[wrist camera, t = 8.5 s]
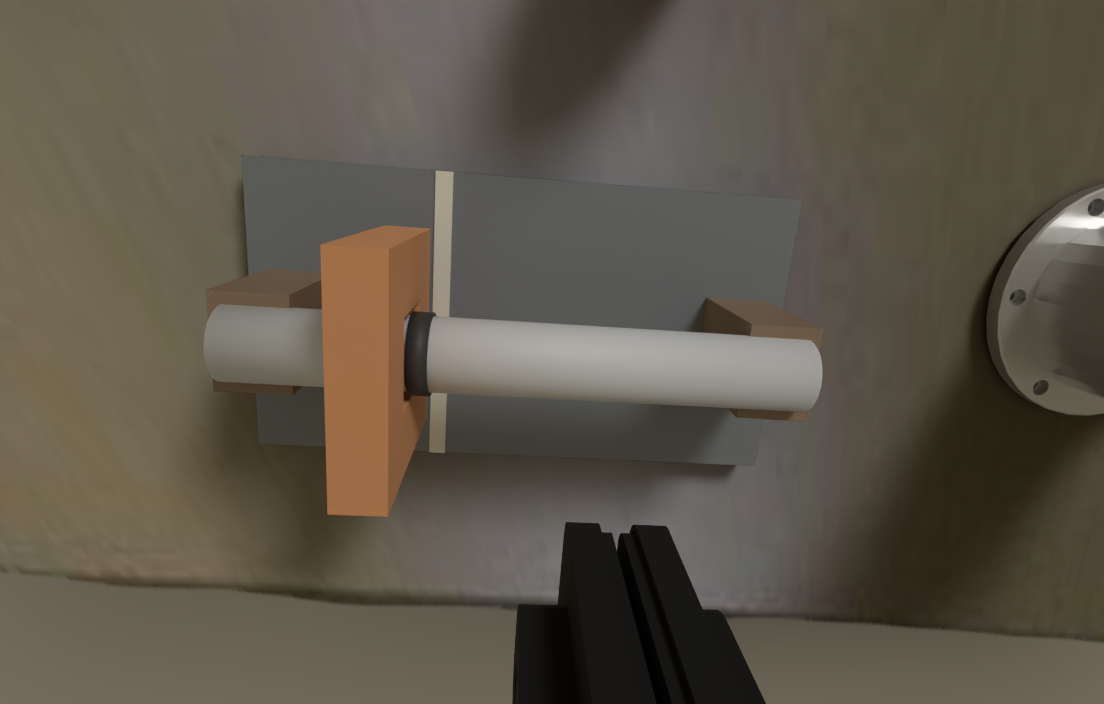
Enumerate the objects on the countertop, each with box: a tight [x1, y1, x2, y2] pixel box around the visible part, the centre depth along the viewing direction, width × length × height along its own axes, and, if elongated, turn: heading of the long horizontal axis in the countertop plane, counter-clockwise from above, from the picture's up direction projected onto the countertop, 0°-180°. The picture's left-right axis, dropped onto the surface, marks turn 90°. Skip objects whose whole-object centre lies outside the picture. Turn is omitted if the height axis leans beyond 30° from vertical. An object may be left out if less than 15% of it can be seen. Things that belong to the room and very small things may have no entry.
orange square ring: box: [320, 225, 431, 517], centre depth 23 cm, size 2×9×9 cm, turn 176°
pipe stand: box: [204, 155, 824, 466], centre depth 26 cm, size 26×14×9 cm, turn 86°
